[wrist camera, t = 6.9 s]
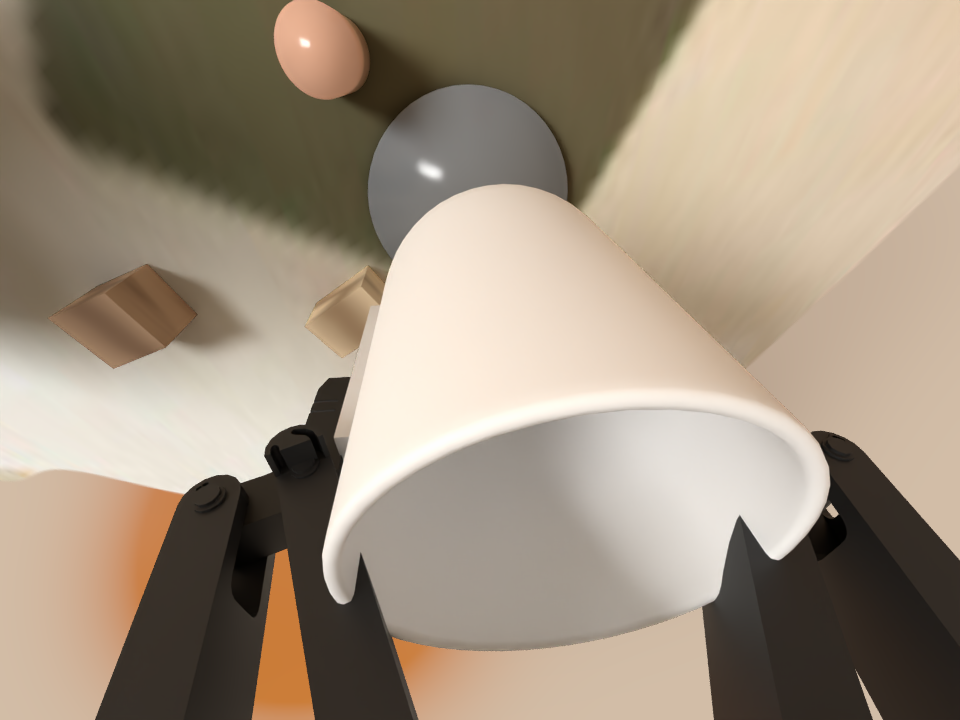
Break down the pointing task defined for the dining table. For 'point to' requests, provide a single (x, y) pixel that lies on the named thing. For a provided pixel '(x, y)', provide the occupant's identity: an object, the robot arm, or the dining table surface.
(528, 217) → the mug
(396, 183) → the gray plate
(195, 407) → the dining table surface
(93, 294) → the walnut block
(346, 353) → the beech block
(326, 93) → the peach egg shape
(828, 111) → the dining table surface
